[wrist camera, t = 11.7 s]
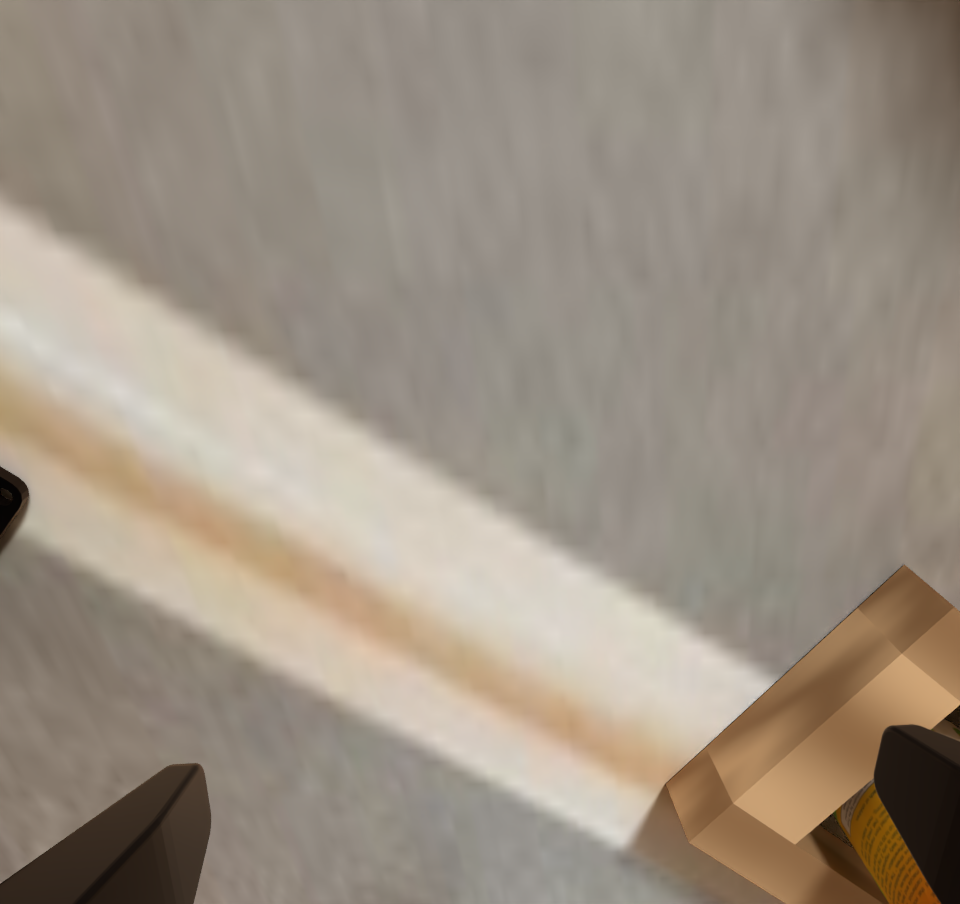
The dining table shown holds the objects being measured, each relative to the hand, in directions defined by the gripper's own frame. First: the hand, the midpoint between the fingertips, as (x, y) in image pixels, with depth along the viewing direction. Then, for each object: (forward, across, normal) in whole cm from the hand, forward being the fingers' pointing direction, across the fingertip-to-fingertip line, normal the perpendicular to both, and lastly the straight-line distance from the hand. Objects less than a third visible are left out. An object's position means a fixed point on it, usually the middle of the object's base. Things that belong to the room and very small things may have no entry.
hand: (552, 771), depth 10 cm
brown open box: (+13, +15, -13) cm, 24 cm away
